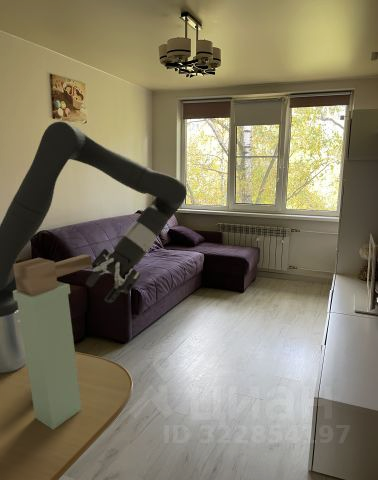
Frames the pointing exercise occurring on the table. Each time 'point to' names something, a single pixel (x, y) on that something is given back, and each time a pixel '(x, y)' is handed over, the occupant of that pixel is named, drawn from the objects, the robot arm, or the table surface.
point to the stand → (50, 354)
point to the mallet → (45, 273)
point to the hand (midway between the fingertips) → (97, 293)
